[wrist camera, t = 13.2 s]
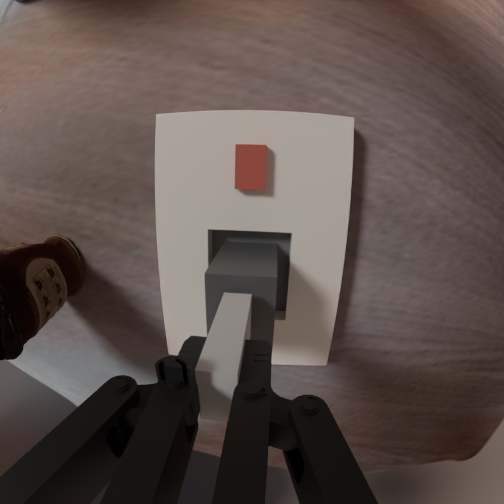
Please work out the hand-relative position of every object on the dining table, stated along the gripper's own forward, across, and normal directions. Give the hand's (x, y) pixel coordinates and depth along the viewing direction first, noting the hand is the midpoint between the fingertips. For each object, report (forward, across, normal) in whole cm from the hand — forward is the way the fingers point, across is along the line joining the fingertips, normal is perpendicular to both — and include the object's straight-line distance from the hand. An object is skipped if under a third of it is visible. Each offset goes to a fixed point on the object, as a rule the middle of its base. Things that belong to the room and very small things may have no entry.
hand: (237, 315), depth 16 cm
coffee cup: (+8, -19, -1) cm, 21 cm away
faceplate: (+8, 0, +2) cm, 8 cm away
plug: (+8, 0, 0) cm, 8 cm away
